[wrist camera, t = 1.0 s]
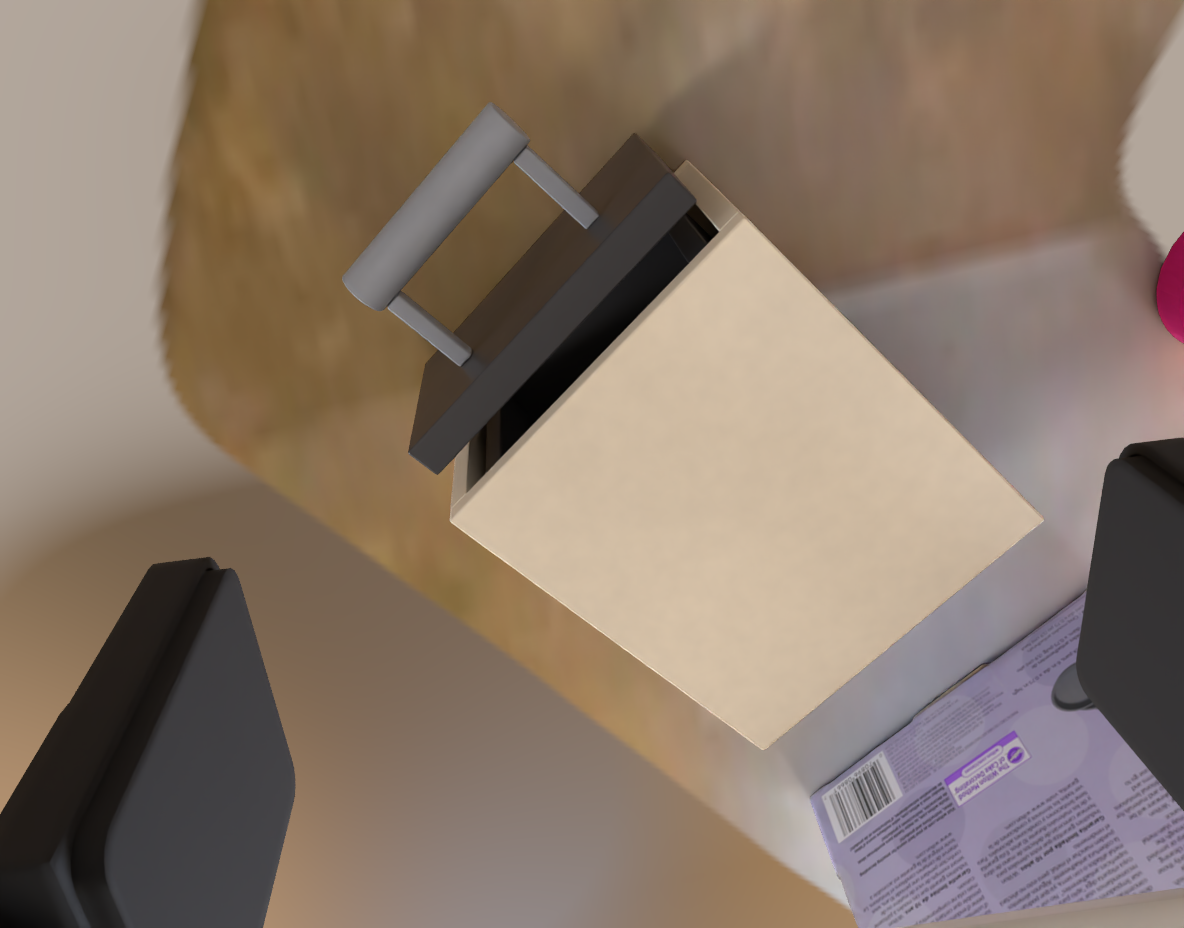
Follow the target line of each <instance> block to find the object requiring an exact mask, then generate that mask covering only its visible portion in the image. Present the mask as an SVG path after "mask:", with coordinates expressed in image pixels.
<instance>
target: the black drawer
mask: <svg viewBox="0 0 1184 928" xmlns="http://www.w3.org/2000/svg"><path fill="white" fill-rule="evenodd" d="M529 142H530V139H529V137H528V136H527V134H526V133H525V132H524V131H523V130H522V129H521V128H520V127H519V126H518V125H517V124H516V123H515V122H514V121H513V120H512V119H511V118H510V117H509V116H508V115H507V114H506V113H505V112H504V111H502V110H501V109H500V108H499V107H498V106H496V105H495V104H494V103H492V102H489V103H488V104H487V105H486V106H485V108H484V109H483V110H482V111H481V112H480V114H479V115H478V116H477V117H476V118H475V119H474V121H473V122H472V123H471V124H470V125H469V127H468V128H467V129H466V130H465V131H464V133H463V134H462V135H461V136H460V137H459V138H458V140H457V141H456V142H455V143H454V144H453V146H452V147H451V148H450V149H449V150H448V152H447V153H446V154H445V155H444V156H443V157H442V159H441V160H440V161H439V162H438V163H437V165H436V166H435V167H434V168H433V169H432V171H431V172H430V173H429V174H428V175H427V176H426V178H425V179H424V180H423V181H422V182H421V184H420V185H419V186H418V187H417V188H416V190H415V191H414V192H413V193H412V194H411V196H410V197H409V198H408V199H407V200H406V201H405V203H404V204H403V205H402V206H401V207H400V209H399V210H398V211H397V212H396V213H395V215H394V216H393V217H392V218H391V219H390V220H389V222H388V223H387V224H386V225H385V226H384V228H383V229H382V230H381V231H380V232H379V234H378V235H377V236H376V237H375V238H374V239H373V241H372V242H371V243H370V244H369V245H368V247H367V248H366V249H365V250H364V251H363V253H362V254H361V255H360V256H359V257H358V258H357V260H356V261H355V262H354V263H353V264H352V266H351V267H350V268H349V269H348V270H347V272H346V273H345V274H344V275H343V278H342V279H343V282H344V284H345V286H346V287H347V288H348V290H349V291H350V292H351V293H352V294H353V295H354V296H355V297H356V298H357V299H358V300H360V301H361V302H362V303H364V304H365V305H367V306H368V307H370V308H372V309H374V310H377V311H383V310H384V309H385V308H386V307H387V306H388V309H389V310H390V311H391V312H393V313H394V314H395V315H396V316H397V317H399V318H400V319H401V320H402V321H404V322H405V323H406V324H407V325H409V326H410V327H411V328H412V329H414V330H415V331H416V332H417V333H419V334H420V335H421V336H422V337H424V338H425V339H426V340H427V341H429V342H430V343H431V344H432V345H433V346H435V347H436V348H437V349H438V351H437V352H436V353H435V354H434V355H433V356H432V357H431V358H430V360H429V361H428V362H427V363H426V364H425V369H424V374H423V379H422V384H421V389H420V394H419V399H418V404H417V410H416V415H415V420H414V425H413V430H412V435H411V440H410V445H409V451H408V453H409V455H411V456H412V457H413V458H415V459H416V460H417V461H419V462H420V463H421V464H423V465H424V466H425V467H427V468H428V469H429V470H431V471H432V472H433V473H435V474H437V475H438V474H439V473H440V472H441V471H442V470H443V469H444V468H445V467H446V466H447V465H448V464H449V463H450V462H451V461H452V460H453V459H454V457H455V456H456V455H457V454H458V453H459V452H460V451H461V450H462V449H463V448H464V447H465V446H466V445H467V444H468V443H469V442H470V441H471V440H472V439H473V437H474V436H475V435H476V434H477V433H478V432H479V431H480V430H481V429H482V428H483V427H484V426H485V425H486V424H487V441H486V473H487V472H488V471H489V470H490V469H491V468H492V467H493V466H494V464H495V463H496V462H497V461H498V460H499V459H500V458H501V457H502V456H503V455H504V454H505V453H506V452H507V451H508V450H509V449H510V448H511V447H512V446H513V445H514V444H515V443H516V442H517V441H518V440H519V439H520V438H521V437H522V436H523V435H524V433H525V432H526V431H527V430H528V429H529V428H530V427H531V426H532V425H533V424H534V423H535V422H536V421H537V420H538V419H539V418H540V417H541V416H542V415H543V414H544V413H545V412H546V411H547V410H548V409H549V408H550V407H551V406H552V405H553V403H554V402H555V401H556V400H557V399H558V398H559V397H560V396H561V395H562V394H563V393H564V392H565V391H566V390H567V389H568V388H569V387H570V386H571V385H572V384H573V383H574V382H575V381H576V380H577V379H578V378H579V377H580V376H581V375H582V373H583V372H584V371H585V370H586V369H587V368H588V367H589V366H590V365H591V364H592V363H593V362H594V361H595V360H596V359H597V358H598V357H599V356H600V355H601V354H602V353H603V352H604V351H605V350H606V349H607V348H608V347H609V346H610V345H611V343H612V342H613V341H614V340H615V339H616V338H617V337H618V336H619V335H620V334H621V333H622V332H623V331H624V330H625V329H626V328H627V327H628V326H629V325H630V324H631V323H632V322H633V321H634V320H635V319H636V318H637V317H638V316H639V315H640V313H641V312H642V311H643V310H644V309H645V308H646V307H647V306H648V305H649V304H650V303H651V302H652V301H653V300H654V299H655V298H656V297H657V296H658V295H659V294H660V293H661V292H662V291H663V290H664V289H665V288H666V287H667V286H668V285H669V283H670V282H671V281H672V280H673V279H674V278H675V277H676V276H677V275H678V274H679V273H680V272H681V271H682V270H683V269H684V268H685V267H686V266H687V265H688V264H689V263H690V262H691V261H692V260H693V259H694V258H695V257H696V256H697V255H698V253H699V252H700V251H701V250H702V249H703V248H704V247H705V246H706V245H707V244H708V243H709V242H710V241H711V240H712V239H713V238H712V237H711V236H710V235H709V234H708V233H707V232H706V231H705V230H704V229H703V228H702V227H701V226H700V225H699V224H698V223H697V222H696V221H695V220H694V219H693V218H692V217H690V216H689V215H688V214H687V212H688V211H689V210H690V209H691V207H692V206H693V205H694V204H695V203H696V201H697V200H696V198H695V197H694V196H693V194H692V193H691V192H690V191H689V190H688V189H687V188H686V186H685V185H684V184H683V183H682V182H681V181H680V180H679V179H678V177H677V176H676V175H675V174H674V173H673V172H672V171H671V169H670V168H669V167H668V166H667V165H666V164H665V163H664V162H663V160H662V159H661V158H660V157H659V156H658V155H657V154H656V153H655V152H654V151H653V150H652V149H651V148H650V147H649V146H648V145H647V144H646V143H645V142H644V141H643V140H642V139H641V138H640V137H639V136H638V135H637V134H635V133H634V134H633V135H632V136H631V137H630V138H629V139H628V140H627V141H626V142H625V143H624V145H623V146H622V147H621V148H620V149H619V150H618V151H617V152H616V153H615V155H614V156H613V157H612V158H611V159H610V160H609V161H608V162H607V163H606V165H605V166H604V167H603V168H602V169H601V170H600V171H599V172H598V173H597V175H596V176H595V177H594V178H593V179H592V180H591V181H590V182H589V183H588V184H587V186H586V187H585V188H584V189H583V190H582V191H581V192H580V193H578V192H577V191H576V190H575V189H574V188H573V187H571V186H570V185H569V184H568V183H567V182H566V181H565V180H564V179H563V178H562V177H561V176H560V175H559V174H558V173H557V172H555V171H554V170H553V169H552V168H551V167H550V166H549V165H548V164H547V163H546V162H545V161H544V160H543V159H542V158H541V157H540V156H538V155H537V154H536V153H535V152H534V151H533V150H532V149H531V148H530V147H529V146H528V145H527V144H528V143H529ZM513 160H514V163H515V164H516V165H517V166H518V167H519V168H520V169H521V170H522V171H523V172H525V173H526V174H527V175H528V176H529V177H530V178H531V179H532V180H533V181H534V182H535V183H536V184H538V185H539V186H540V187H541V188H542V189H543V190H544V191H545V192H546V193H547V194H548V195H549V196H551V197H552V198H553V199H554V200H555V201H556V202H557V203H558V204H559V205H560V206H561V207H562V208H564V209H565V210H564V211H563V212H562V213H561V214H560V216H559V217H558V218H557V219H556V220H555V221H554V222H553V223H552V224H551V225H550V227H549V228H548V229H547V230H546V231H545V232H544V233H543V234H542V235H541V237H540V238H539V239H538V240H537V241H536V242H535V243H534V244H533V245H532V247H531V248H530V249H529V250H528V251H527V252H526V253H525V254H524V255H523V257H522V258H521V259H520V260H519V261H518V262H517V263H516V264H515V265H514V266H513V268H512V269H511V270H510V271H509V272H508V273H507V274H506V275H505V276H504V278H503V279H502V280H501V281H500V282H499V283H498V284H497V285H496V286H495V288H494V289H493V290H492V291H491V292H490V293H489V294H488V295H487V296H486V298H485V299H484V300H483V301H482V302H481V303H480V304H479V305H478V306H477V307H476V309H475V310H474V311H473V312H472V313H471V314H470V315H469V316H468V317H467V319H466V320H465V321H464V322H463V323H462V324H461V325H460V326H459V327H458V329H457V330H456V331H455V332H454V333H452V332H451V331H450V330H448V329H447V328H446V327H445V326H444V325H442V324H441V323H440V322H439V321H438V320H436V319H435V318H434V317H433V316H431V315H430V314H429V313H428V312H427V311H425V310H424V309H423V308H422V307H420V306H419V305H418V304H417V303H416V302H414V301H413V300H412V299H411V298H409V297H408V296H407V295H406V294H405V293H403V292H402V291H401V289H402V288H403V287H404V286H405V285H406V284H407V283H408V281H409V280H410V279H411V278H412V277H413V276H414V274H415V273H416V272H417V271H418V270H419V269H420V268H421V266H422V265H423V264H424V263H425V262H426V261H427V259H428V258H429V257H430V256H431V255H432V254H433V253H434V251H435V250H436V249H437V248H438V247H439V246H440V244H441V243H442V242H443V241H444V240H445V239H446V238H447V236H448V235H449V234H450V233H451V232H452V231H453V230H454V228H455V227H456V226H457V225H458V224H459V223H460V221H461V220H462V219H463V218H464V217H465V216H466V215H467V213H468V212H469V211H470V210H471V209H472V208H473V206H474V205H475V204H476V203H477V202H478V201H479V200H480V198H481V197H482V196H483V195H484V194H485V193H486V191H487V190H488V189H489V188H490V187H491V186H492V185H493V183H494V182H495V181H496V180H497V179H498V178H499V177H500V175H501V174H502V173H503V172H504V171H505V170H506V168H507V167H508V166H509V165H510V164H511V163H512V162H513ZM388 304H389V305H388ZM486 473H485V474H486Z"/></svg>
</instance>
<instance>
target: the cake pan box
mask: <svg viewBox="0 0 1184 928" xmlns="http://www.w3.org/2000/svg"><path fill="white" fill-rule="evenodd" d="M1086 593H1087V589H1086V590H1085V592H1084V593H1083V594H1082V595H1081V596H1080V597H1079V598H1078V599H1076V600H1075V601H1073V602H1072V603H1071V604H1069V605H1068V606H1067V607H1065V608H1064V609H1063V610H1061V611H1060V612H1059V613H1057V614H1056V615H1055V616H1053V617H1052V618H1051V619H1049V620H1048V621H1047V622H1045V623H1044V624H1043V625H1041V626H1040V627H1039V628H1037V629H1036V630H1035V631H1033V632H1032V633H1031V634H1029V635H1028V636H1027V637H1025V638H1024V639H1023V640H1021V641H1020V642H1019V643H1017V644H1016V645H1015V646H1013V647H1012V648H1011V649H1009V650H1008V651H1007V652H1005V653H1004V654H1003V655H1001V656H1000V657H999V658H997V659H996V660H995V661H993V662H992V663H990V664H983V665H981V666H980V667H979V668H977V669H976V670H974V671H973V672H972V673H970V674H969V675H968V676H966V677H965V678H964V679H962V680H961V681H960V682H958V683H957V684H956V685H954V686H953V687H952V688H950V689H949V690H947V691H946V692H945V693H943V694H942V695H941V696H940V697H939V698H937V699H936V700H934V701H933V702H932V703H930V704H929V705H928V706H926V707H925V708H924V709H923V710H921V711H920V712H919V713H918V714H916V715H915V716H914V718H913V721H912V722H911V723H910V724H909V725H907V726H906V727H904V728H903V729H902V730H900V731H899V732H897V733H896V734H895V735H893V736H892V737H891V738H889V739H888V740H887V741H885V742H884V743H883V744H881V745H880V746H878V747H877V748H876V749H874V750H873V751H872V752H870V753H869V754H868V755H867V756H865V757H864V758H863V759H861V760H860V761H859V762H857V763H856V764H855V765H853V766H852V767H850V768H849V769H848V770H847V771H845V772H844V773H843V774H841V775H840V776H839V777H837V778H836V779H835V780H833V781H832V782H831V783H829V784H828V785H825V786H823V787H822V788H820V789H819V790H818V791H817V792H815V793H814V794H813V795H812V796H811V797H810V800H811V804H812V807H813V810H814V813H815V815H816V818H817V821H818V824H819V827H820V830H821V833H822V836H823V839H824V841H825V844H826V847H827V849H828V852H829V855H830V858H831V860H832V863H833V866H834V869H835V871H836V874H837V877H838V878H839V879H840V880H841V882H842V885H843V888H844V891H845V894H846V896H847V899H848V902H849V905H850V907H851V910H852V912H853V915H854V918H855V920H856V923H857V926H858V928H897V927H904V926H911V925H918V924H925V923H932V922H939V921H947V920H954V919H961V918H968V917H975V916H982V915H989V914H996V913H1003V912H1010V911H1017V910H1024V909H1031V908H1039V907H1046V906H1053V905H1060V904H1067V903H1074V902H1082V901H1089V900H1096V899H1104V898H1111V897H1118V896H1126V895H1133V894H1140V893H1148V892H1155V891H1162V890H1170V889H1177V888H1184V811H1183V810H1182V809H1181V808H1180V806H1179V805H1178V804H1177V803H1176V802H1175V800H1174V799H1173V798H1172V797H1171V796H1170V794H1169V793H1168V792H1167V791H1166V790H1165V788H1164V787H1163V786H1162V785H1161V784H1160V783H1159V781H1158V780H1157V779H1156V778H1155V777H1154V775H1153V774H1152V773H1151V772H1150V771H1149V769H1148V768H1147V767H1146V766H1145V765H1144V763H1143V762H1142V761H1141V760H1140V759H1139V757H1138V756H1137V755H1136V754H1135V753H1134V751H1133V750H1132V749H1131V748H1130V747H1129V745H1128V744H1127V743H1126V742H1125V741H1124V740H1123V738H1122V737H1121V736H1120V735H1119V734H1118V732H1117V731H1116V730H1115V729H1114V728H1113V726H1112V725H1111V724H1110V723H1109V722H1108V720H1107V719H1106V718H1105V717H1104V716H1103V714H1102V713H1101V712H1100V711H1099V710H1098V708H1097V707H1096V706H1095V705H1094V704H1093V703H1092V701H1091V700H1090V699H1089V698H1088V697H1087V695H1086V694H1085V692H1084V691H1083V689H1082V687H1081V685H1080V682H1079V679H1078V675H1077V670H1076V657H1077V651H1078V644H1079V638H1080V631H1081V625H1082V618H1083V612H1084V606H1085V599H1086Z"/></svg>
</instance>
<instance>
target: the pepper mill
mask: <svg viewBox="0 0 1184 928" xmlns="http://www.w3.org/2000/svg"><path fill="white" fill-rule="evenodd" d="M1157 307H1158V311H1159V315H1160V317H1161V320H1162V322H1163V324H1164V325H1165V327H1166V329H1167V330H1168V331H1169V332H1170V333H1171V334H1172V336H1173V337H1175V338H1176V339H1177V340H1179V341H1180V342H1182V343H1184V232H1183V233H1182V235H1181V236H1180V237H1179V238H1178V239H1177V241H1176V242H1175V243H1174V244H1173V246H1172V247H1171V249H1170V251H1169V253H1168V255H1167V257H1166V259H1165V261H1164V263H1163V265H1162V267H1161V270H1160V275H1159V280H1158V285H1157Z"/></svg>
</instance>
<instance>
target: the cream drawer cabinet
mask: <svg viewBox="0 0 1184 928" xmlns="http://www.w3.org/2000/svg"><path fill="white" fill-rule="evenodd" d="M674 174H675V175H676V176H677V177H678V179H679V180H680V181H681V182H682V183H683V184H684V185H685V186H686V188H687V189H688V190H689V191H690V192H691V193H692V194H693V196H694V197H695V198H696V200H697V201H696V203H695V204H694V205H693V206H692V207H691V209H690V210H689V211H688V212H687V214H688V215H689V216H690V217H692V218H693V219H694V220H695V221H696V222H697V223H698V224H699V225H700V226H701V227H702V228H703V229H704V230H705V231H706V232H707V233H708V234H709V235H710V236H711V237H712V238H713V239H712V240H711V241H710V242H709V243H708V244H707V245H706V246H705V247H704V248H703V249H702V250H701V251H700V252H699V253H698V255H697V256H696V257H695V258H694V259H693V260H692V261H691V262H690V263H689V264H688V265H687V266H686V267H685V268H684V269H683V270H682V271H681V272H680V273H679V274H678V275H677V276H676V277H675V278H674V279H673V280H672V281H671V282H670V283H669V285H668V286H667V287H666V288H665V289H664V290H663V291H662V292H661V293H660V294H659V295H658V296H657V297H656V298H655V299H654V300H653V301H652V302H651V303H650V304H649V305H648V306H647V307H646V308H645V309H644V310H643V311H642V312H641V313H640V315H639V316H638V317H637V318H636V319H635V320H634V321H633V322H632V323H631V324H630V325H629V326H628V327H627V328H626V329H625V330H624V331H623V332H622V333H621V334H620V335H619V336H618V337H617V338H616V339H615V340H614V341H613V342H612V343H611V345H610V346H609V347H608V348H607V349H606V350H605V351H604V352H603V353H602V354H601V355H600V356H599V357H598V358H597V359H596V360H595V361H594V362H593V363H592V364H591V365H590V366H589V367H588V368H587V369H586V370H585V371H584V372H583V373H582V375H581V376H580V377H579V378H578V379H577V380H576V381H575V382H574V383H573V384H572V385H571V386H570V387H569V388H568V389H567V390H566V391H565V392H564V393H563V394H562V395H561V396H560V397H559V398H558V399H557V400H556V401H555V402H554V403H553V405H552V406H551V407H550V408H549V409H548V410H547V411H546V412H545V413H544V414H543V415H542V416H541V417H540V418H539V419H538V420H537V421H536V422H535V423H534V424H533V425H532V426H531V427H530V428H529V429H528V430H527V431H526V432H525V433H524V435H523V436H522V437H521V438H520V439H519V440H518V441H517V442H516V443H515V444H514V445H513V446H512V447H511V448H510V449H509V450H508V451H507V452H506V453H505V454H504V455H503V456H502V457H501V458H500V459H499V460H498V461H497V462H496V463H495V464H494V466H493V467H492V468H491V469H490V470H489V471H488V472H487V473H486V441H487V424H486V425H485V426H484V427H483V428H482V429H481V430H480V431H479V432H478V433H477V434H476V435H475V436H474V437H473V439H472V440H471V441H470V442H469V443H468V444H467V445H466V446H465V447H464V448H463V449H462V450H461V451H460V452H459V453H458V454H457V455H456V456H455V466H454V477H453V488H452V498H451V514H450V522H451V523H452V524H454V525H455V526H456V527H458V528H459V529H461V530H462V531H463V532H465V533H466V534H467V535H469V536H470V537H471V538H473V539H474V540H476V541H477V542H478V543H480V544H481V545H482V546H484V547H485V548H487V549H488V550H489V551H491V552H492V553H493V554H495V555H496V556H497V557H499V558H500V559H502V560H503V561H504V562H506V563H507V564H508V565H510V566H511V567H513V568H514V569H515V570H517V571H518V572H519V573H521V574H522V575H524V576H525V577H526V578H528V579H529V580H530V581H532V582H533V583H534V584H536V585H537V586H539V587H540V588H541V589H543V590H544V591H545V592H547V593H548V594H550V595H551V596H552V597H554V598H555V599H556V600H558V601H559V602H560V603H562V604H563V605H565V606H566V607H567V608H569V609H570V610H571V611H573V612H574V613H576V614H577V615H578V616H580V617H581V618H582V619H584V620H585V621H586V622H588V623H589V624H591V625H592V626H593V627H595V628H596V629H597V630H599V631H600V632H602V633H603V634H604V635H606V636H607V637H608V638H610V639H611V640H613V641H614V642H615V643H617V644H618V645H619V646H621V647H622V648H623V649H625V650H626V651H628V652H629V653H630V654H632V655H633V656H634V657H636V658H637V659H639V660H640V661H641V662H643V663H644V664H645V665H647V666H648V667H649V668H651V669H652V670H654V671H655V672H656V673H658V674H659V675H660V676H662V677H663V678H665V679H666V680H667V681H669V682H670V683H671V684H673V685H674V686H675V687H677V688H678V689H680V690H681V691H682V692H684V693H685V694H686V695H688V696H689V697H691V698H692V699H693V700H695V701H696V702H697V703H699V704H700V705H702V706H703V707H704V708H706V709H707V710H708V711H710V712H711V713H712V714H714V715H715V716H717V717H718V718H719V719H721V720H722V721H723V722H725V723H726V724H728V725H729V726H730V727H732V728H733V729H734V730H736V731H737V732H738V733H740V734H741V735H743V736H744V737H745V738H747V739H748V740H749V741H751V742H752V743H754V744H755V745H756V746H758V747H759V748H760V749H762V750H766V749H767V748H768V747H769V746H770V745H772V744H773V743H774V742H775V741H776V740H778V739H779V738H780V737H781V736H783V735H784V734H785V733H786V732H787V731H789V730H790V729H791V728H792V727H793V726H795V725H796V724H797V723H798V722H800V721H801V720H802V719H803V718H804V717H806V716H807V715H808V714H809V713H811V712H812V711H813V710H814V709H815V708H817V707H818V706H819V705H820V704H821V703H823V702H824V701H825V700H826V699H828V698H829V697H830V696H831V695H832V694H834V693H835V692H836V691H837V690H838V689H840V688H841V687H842V686H843V685H845V684H846V683H847V682H848V681H849V680H851V679H852V678H853V677H854V676H855V675H857V674H858V673H859V672H860V671H862V670H863V669H864V668H865V667H866V666H868V665H869V664H870V663H871V662H873V661H874V660H875V659H876V658H877V657H879V656H880V655H881V654H882V653H883V652H885V651H886V650H887V649H888V648H890V647H891V646H892V645H893V644H894V643H896V642H897V641H898V640H899V639H900V638H902V637H903V636H904V635H905V634H907V633H908V632H909V631H910V630H911V629H913V628H914V627H915V626H916V625H917V624H919V623H920V622H921V621H922V620H924V619H925V618H926V617H927V616H928V615H930V614H931V613H932V612H933V611H934V610H936V609H937V608H938V607H939V606H941V605H942V604H943V603H944V602H945V601H947V600H948V599H949V598H950V597H952V596H953V595H954V594H955V593H956V592H958V591H959V590H960V589H961V588H962V587H964V586H965V585H966V584H967V583H969V582H970V581H971V580H972V579H973V578H975V577H976V576H977V575H978V574H979V573H981V572H982V571H983V570H984V569H986V568H987V567H988V566H989V565H990V564H992V563H993V562H994V561H995V560H996V559H998V558H999V557H1000V556H1001V555H1003V554H1004V553H1005V552H1006V551H1007V550H1009V549H1010V548H1011V547H1012V546H1013V545H1015V544H1016V543H1017V542H1018V541H1020V540H1021V539H1022V538H1023V537H1024V536H1026V535H1027V534H1028V533H1029V532H1031V531H1032V530H1033V529H1034V528H1035V527H1037V526H1038V525H1039V524H1040V523H1041V522H1043V521H1044V517H1043V516H1042V515H1041V514H1040V513H1039V512H1038V511H1037V510H1036V509H1035V508H1034V507H1033V506H1032V505H1031V504H1030V503H1029V502H1028V501H1027V500H1026V499H1025V498H1024V497H1023V496H1022V495H1021V494H1020V493H1019V492H1018V491H1017V490H1016V489H1015V488H1014V487H1013V486H1012V485H1011V484H1010V483H1009V482H1008V481H1007V480H1006V479H1005V478H1004V477H1003V476H1002V475H1001V474H1000V473H999V472H998V471H997V470H996V469H995V468H994V467H993V466H992V465H991V464H990V463H989V462H988V461H987V460H986V459H985V458H984V457H983V456H982V455H981V454H980V453H979V452H978V451H977V450H976V449H975V448H974V447H973V446H972V445H971V444H970V443H969V442H968V441H967V440H966V439H965V437H964V436H963V435H962V434H961V433H960V432H959V431H958V430H957V429H956V428H955V427H954V426H953V425H952V424H951V423H950V422H949V421H948V420H947V419H946V418H945V417H944V416H943V415H942V414H941V413H940V412H939V411H938V410H937V409H936V408H935V407H934V406H933V405H932V404H931V403H930V402H929V401H928V400H927V399H926V398H925V397H924V396H923V395H922V394H921V393H920V392H919V391H918V390H917V389H916V388H915V387H914V386H913V385H912V384H911V383H910V382H909V381H908V380H907V379H906V378H905V377H904V376H903V375H902V374H901V373H900V372H899V371H898V370H897V369H896V368H895V367H894V366H893V365H892V364H891V363H890V362H889V361H888V360H887V359H886V358H885V357H884V356H883V355H882V354H881V353H880V352H879V351H878V350H877V349H876V348H875V347H874V346H873V345H872V344H871V343H870V342H869V341H868V340H867V339H866V338H865V337H864V336H863V335H862V333H861V332H860V331H859V330H858V329H857V328H856V327H855V326H854V325H853V324H852V323H851V322H850V321H849V320H848V319H847V318H846V317H845V316H844V315H843V314H842V313H841V312H840V311H839V310H838V309H837V308H836V307H835V306H834V305H833V304H832V303H831V302H830V301H829V300H828V299H827V298H826V297H825V296H824V295H823V294H822V293H821V292H820V291H819V290H818V289H817V288H816V287H815V286H814V285H813V284H812V283H811V282H810V281H809V280H808V279H807V278H806V277H805V276H804V275H803V274H802V273H801V272H800V271H799V270H798V269H797V268H796V267H795V266H794V265H793V264H792V263H791V262H790V261H789V260H788V259H787V258H786V257H785V256H784V255H783V254H782V253H781V252H780V251H779V250H778V249H777V248H776V247H775V246H774V245H773V244H772V243H771V242H770V241H769V240H768V239H767V238H766V237H765V236H764V235H763V234H762V233H761V232H760V231H759V229H758V228H757V227H756V226H755V225H754V224H753V223H752V222H751V221H750V220H749V219H748V218H747V217H746V216H745V215H744V214H743V213H741V212H740V211H739V210H738V209H737V208H736V207H735V206H734V205H733V204H732V203H731V202H730V201H729V200H728V199H727V198H726V197H725V196H724V195H723V194H722V193H721V192H720V191H719V190H718V189H717V188H716V187H715V186H714V185H713V184H712V183H711V182H710V181H709V180H708V179H707V178H706V177H705V176H704V175H703V174H702V173H701V172H700V171H698V170H697V169H696V168H695V167H694V166H693V165H692V164H691V163H690V162H689V161H688V160H686V161H685V162H684V163H683V164H682V165H681V166H680V167H679V168H678V169H677V170H676V171H675V172H674ZM485 473H486V474H485Z"/></svg>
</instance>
